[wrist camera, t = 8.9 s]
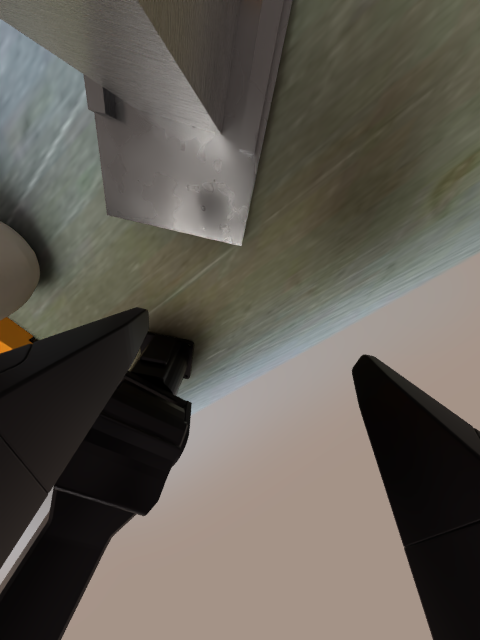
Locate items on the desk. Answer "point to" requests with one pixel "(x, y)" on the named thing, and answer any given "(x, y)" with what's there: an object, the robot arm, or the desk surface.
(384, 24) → the desk surface
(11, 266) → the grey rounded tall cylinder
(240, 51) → the grey base plate
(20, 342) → the bracket
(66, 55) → the block
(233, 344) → the desk surface
